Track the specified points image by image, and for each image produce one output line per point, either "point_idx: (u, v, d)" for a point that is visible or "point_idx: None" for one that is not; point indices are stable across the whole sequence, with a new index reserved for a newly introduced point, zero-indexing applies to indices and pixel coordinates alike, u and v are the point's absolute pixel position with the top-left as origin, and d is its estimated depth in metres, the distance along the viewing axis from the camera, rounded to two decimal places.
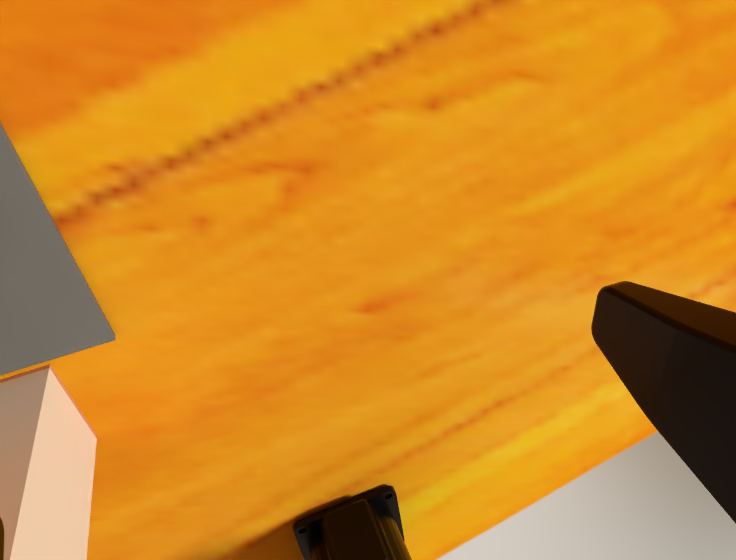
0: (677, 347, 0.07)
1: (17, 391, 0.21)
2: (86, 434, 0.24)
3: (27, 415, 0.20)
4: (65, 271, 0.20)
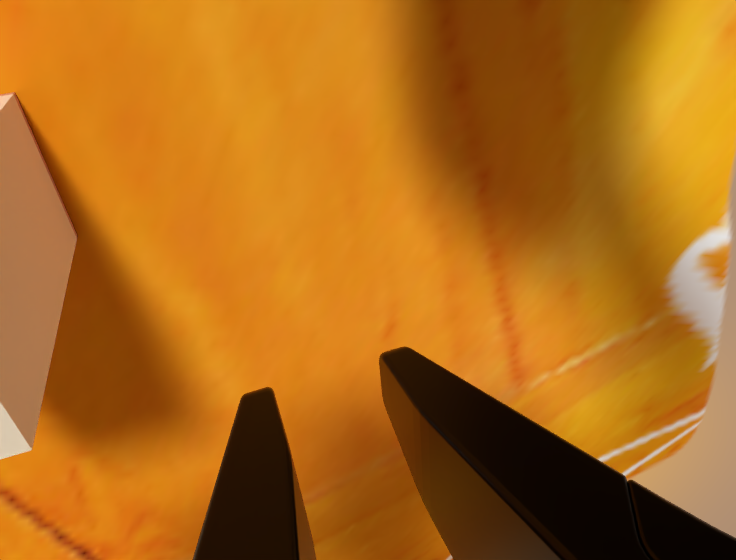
0: (423, 433, 0.06)
1: None
2: None
3: None
4: None
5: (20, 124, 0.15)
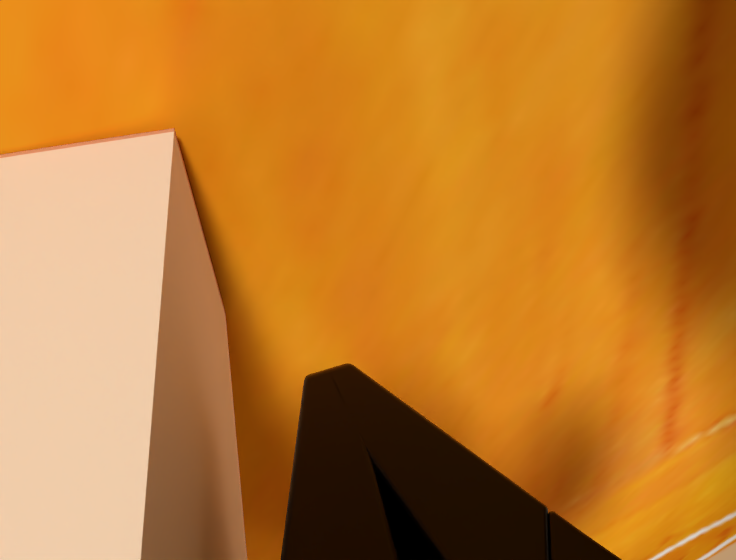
0: None
1: None
2: (118, 149, 0.10)
3: None
4: None
5: (183, 175, 0.10)
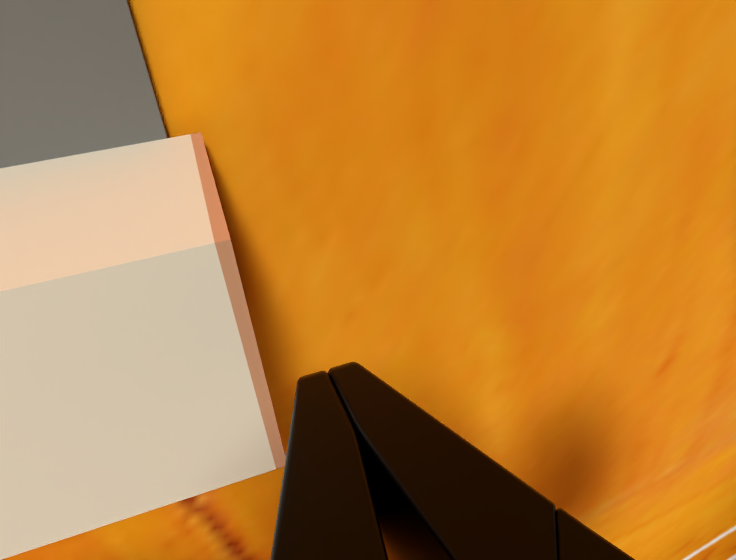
0: (363, 454, 0.06)
1: None
2: (167, 219, 0.07)
3: None
4: None
5: (181, 297, 0.07)
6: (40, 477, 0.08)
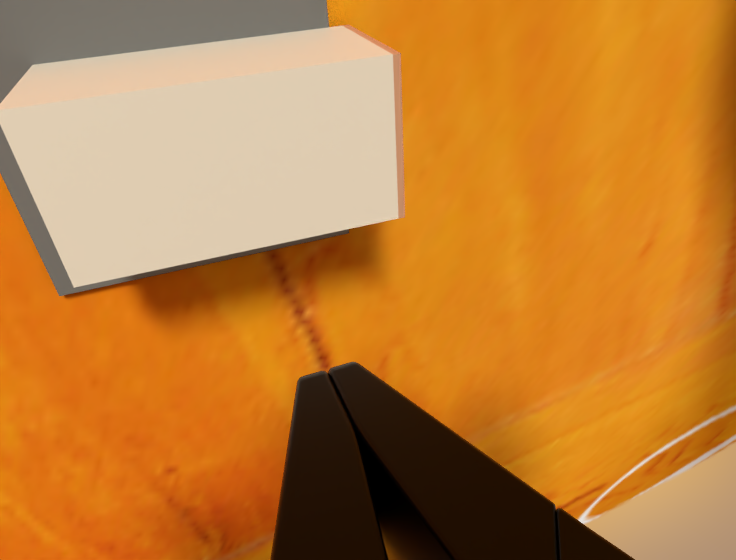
0: (363, 454, 0.06)
1: None
2: (359, 49, 0.14)
3: None
4: None
5: (372, 85, 0.14)
6: (282, 193, 0.14)
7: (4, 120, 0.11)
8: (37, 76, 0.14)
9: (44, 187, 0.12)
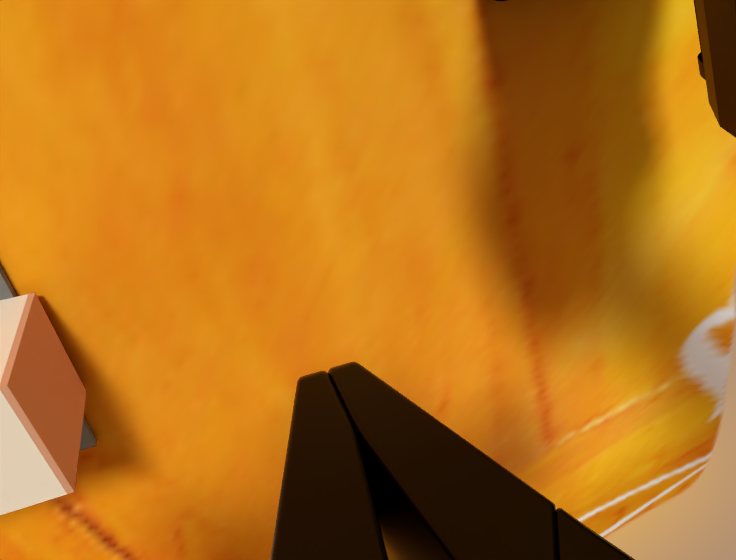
0: (363, 454, 0.06)
1: None
2: None
3: None
4: None
5: None
6: None
7: None
8: None
9: None
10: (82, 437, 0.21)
